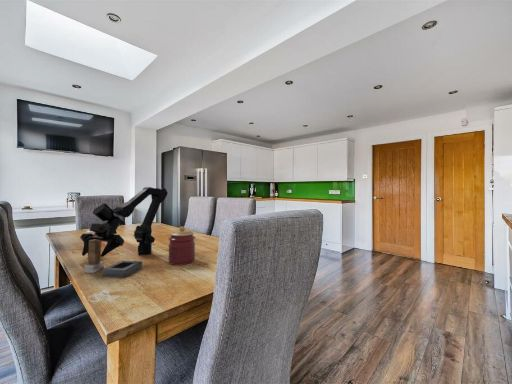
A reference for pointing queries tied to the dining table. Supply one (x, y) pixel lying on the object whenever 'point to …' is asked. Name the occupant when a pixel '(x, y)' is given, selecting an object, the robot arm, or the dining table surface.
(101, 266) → the slot cleaner tool
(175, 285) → the dining table surface
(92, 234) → the paper cup
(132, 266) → the holder block
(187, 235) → the canister
